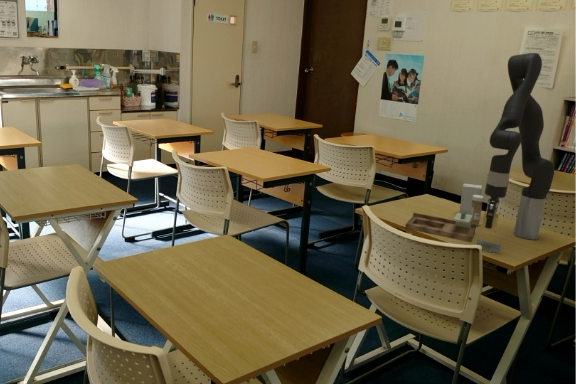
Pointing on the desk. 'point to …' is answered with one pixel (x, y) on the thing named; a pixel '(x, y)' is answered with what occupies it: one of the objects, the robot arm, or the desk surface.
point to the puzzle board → (440, 227)
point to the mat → (489, 246)
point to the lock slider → (463, 219)
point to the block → (494, 223)
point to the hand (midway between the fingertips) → (489, 226)
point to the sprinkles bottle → (476, 209)
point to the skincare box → (469, 196)
